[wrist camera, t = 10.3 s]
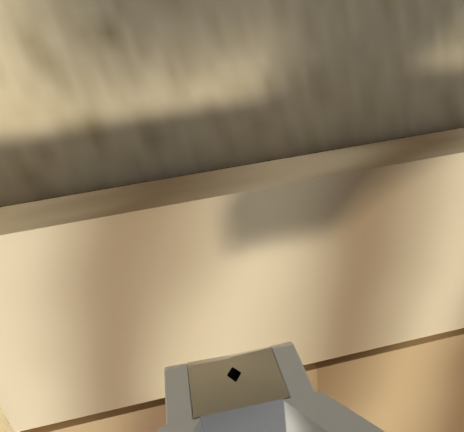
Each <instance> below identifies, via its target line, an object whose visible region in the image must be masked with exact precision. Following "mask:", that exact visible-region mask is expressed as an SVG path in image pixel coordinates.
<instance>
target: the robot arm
mask: <svg viewBox="0 0 464 432" xmlns="http://www.w3.org/2000/svg"><path fill="white" fill-rule="evenodd" d="M164 380H165V404H166V425H165V426H161V427H159V429H158V430H157V432H385V431H383V430H382V429H380V428H379V427H377V426H375V425H374V424H372V423H371V422H369V421H368V420H366V419H364V418H363V417H361V416H360V415H358V414H357V413H355V412H353V411H352V410H350V409H349V408H347V407H345V406H344V405H342V404H341V403H339V402H338V401H336V400H334V399H333V398H331V397H330V396H328V395H327V394H325V393H323V392H322V391H321V392H316V393H315V391H314V389H313V386H312V384H311V382H310V380H309V377H308V375H307V373H306V371H305V369H304V366H303V364H302V362H301V360H300V357H299V355H298V353H297V351H296V349H295V346H294V344H293V343H292V342H286V343H281V344H277V345H272V346H270V347H264V348H260V349H255V350H250V351H246V352H241V353H236V354H231V355H227V356H221V357H216V358H210V359H204V360H199V361H193V362H188V363H185V364H179V365H174V366H168V367H165V371H164Z"/></svg>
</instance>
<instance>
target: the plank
mask: <svg viewBox="0 0 464 432" xmlns="http://www.w3.org/2000/svg"><path fill="white" fill-rule="evenodd" d="M461 328H464V128H459V129H453V130H447V131H442V132H436V133H430V134H424V135H418V136H412V137H407V138H401V139H395V140H389V141H383V142H378V143H372V144H366V145H360V146H354V147H348V148H343V149H337V150H331V151H325V152H319V153H313V154H308V155H302V156H296V157H290V158H284V159H279V160H273V161H267V162H261V163H255V164H249V165H244V166H238V167H232V168H226V169H220V170H215V171H209V172H203V173H197V174H191V175H185V176H180V177H174V178H168V179H162V180H156V181H150V182H145V183H139V184H133V185H127V186H121V187H116V188H110V189H104V190H98V191H92V192H86V193H81V194H75V195H69V196H63V197H57V198H52V199H46V200H40V201H34V202H28V203H22V204H17V205H11V206H5V207H0V408H1V409H2V411H3V413H4V415H5V417H6V418H7V420H8V422H9V424H10V426H11V427H12V429H13V431H14V432H20V431H24V430H28V429H33V428H37V427H41V426H46V425H50V424H54V423H58V422H63V421H67V420H71V419H76V418H80V417H84V416H88V415H93V414H97V413H101V412H106V411H110V410H114V409H118V408H123V407H127V406H131V405H136V404H140V403H144V402H148V401H153V400H157V399H161V398H165V380H164V371H165V367H168V366H174V365H179V364H185V363H188V362H193V361H199V360H204V359H210V358H216V357H221V356H227V355H231V354H236V353H241V352H246V351H250V350H255V349H260V348H264V347H270V346H272V345H277V344H281V343H286V342H292V343H293V344H294V346H295V349H296V351H297V353H298V355H299V357H300V360H301V362H302V364H303V365H307V364H311V363H315V362H320V361H324V360H328V359H333V358H337V357H341V356H345V355H350V354H354V353H358V352H363V351H367V350H371V349H375V348H380V347H384V346H388V345H393V344H397V343H401V342H405V341H410V340H414V339H418V338H423V337H427V336H431V335H435V334H440V333H444V332H448V331H453V330H457V329H461Z"/></svg>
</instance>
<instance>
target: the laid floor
mask: <svg viewBox="0 0 464 432" xmlns="http://www.w3.org/2000/svg"><path fill="white" fill-rule="evenodd" d="M303 366H304V369H305V371H306V373H307V375H308V377H309V380H310V382H311V384H312V386H313V389H314V391H315V393H316V392H321V391H322V392H323V393H325V394H327V395H328V396H330V397H331V398H333V399H334V400H336V401H338V402H339V403H341V404H342V405H344V406H345V407H347V408H349V409H350V410H352V411H353V412H355V413H357V414H358V415H360V416H361V417H363V418H364V419H366V420H368V421H369V422H371V423H372V424H374V425H375V426H377V427H379V428H380V429H382V430H383V431H385V432H464V328H461V329H457V330H453V331H448V332H444V333H440V334H435V335H431V336H427V337H423V338H418V339H414V340H410V341H405V342H401V343H397V344H393V345H388V346H384V347H380V348H375V349H371V350H367V351H363V352H358V353H354V354H350V355H345V356H341V357H337V358H333V359H328V360H324V361H320V362H315V363H311V364H307V365H303ZM165 425H166V404H165V398H161V399H157V400H153V401H148V402H144V403H140V404H136V405H131V406H127V407H123V408H118V409H114V410H110V411H106V412H101V413H97V414H93V415H88V416H84V417H80V418H76V419H71V420H67V421H63V422H58V423H54V424H50V425H46V426H41V427H37V428H33V429H28V430H24V431H20V432H157V430H158V429H159V427H161V426H165Z"/></svg>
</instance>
